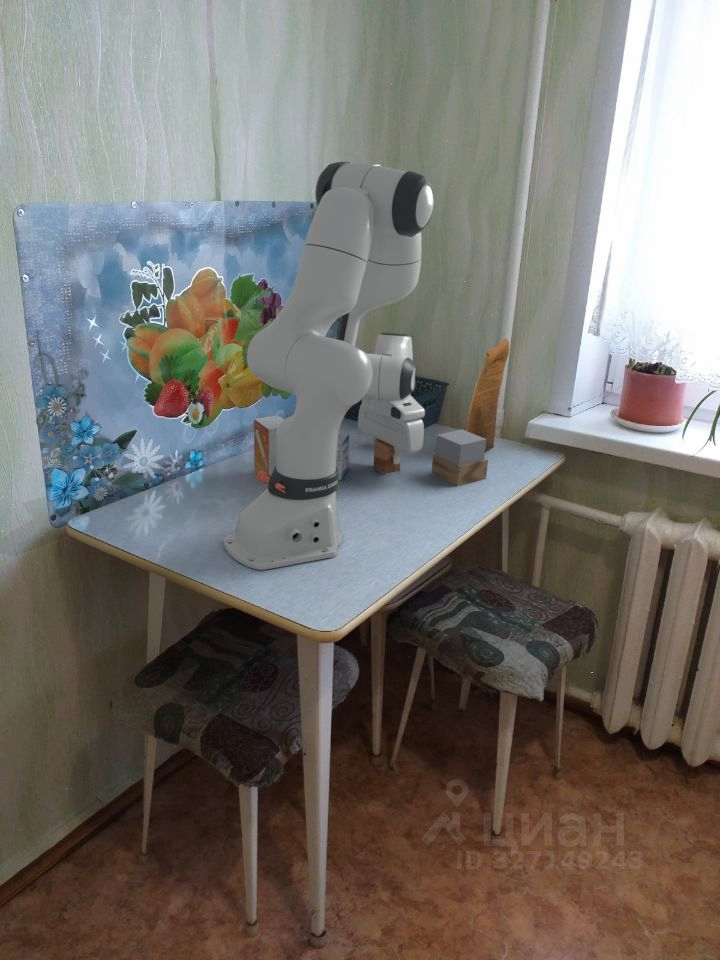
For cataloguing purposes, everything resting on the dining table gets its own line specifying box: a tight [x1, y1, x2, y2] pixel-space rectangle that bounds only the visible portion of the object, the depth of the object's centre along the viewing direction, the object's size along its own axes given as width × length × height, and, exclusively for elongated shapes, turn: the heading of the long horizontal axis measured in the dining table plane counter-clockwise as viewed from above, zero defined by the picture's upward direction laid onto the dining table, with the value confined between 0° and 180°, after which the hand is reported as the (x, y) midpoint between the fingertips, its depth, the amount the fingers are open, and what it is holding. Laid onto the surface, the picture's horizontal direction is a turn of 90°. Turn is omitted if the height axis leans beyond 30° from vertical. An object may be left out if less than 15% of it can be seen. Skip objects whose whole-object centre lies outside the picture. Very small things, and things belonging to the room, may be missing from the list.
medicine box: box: [336, 433, 350, 481], centre depth 175 cm, size 8×4×9 cm, turn 168°
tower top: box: [434, 429, 486, 466], centre depth 175 cm, size 8×8×5 cm
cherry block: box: [372, 440, 402, 475], centre depth 179 cm, size 4×4×7 cm
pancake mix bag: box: [464, 338, 510, 453], centre depth 190 cm, size 7×19×28 cm, turn 147°
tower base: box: [431, 453, 489, 487], centre depth 177 cm, size 9×9×5 cm
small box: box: [253, 415, 285, 477], centre depth 171 cm, size 8×6×13 cm
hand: (387, 459), depth 179 cm, fingers closed on cherry block, 4 cm apart
